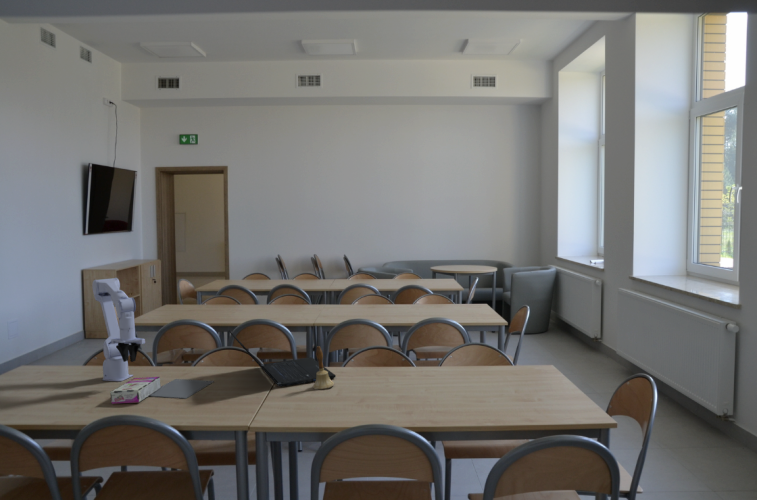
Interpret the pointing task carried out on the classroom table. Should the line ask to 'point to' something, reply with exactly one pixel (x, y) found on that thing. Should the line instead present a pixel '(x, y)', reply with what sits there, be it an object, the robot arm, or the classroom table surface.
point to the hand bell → (322, 373)
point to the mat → (180, 388)
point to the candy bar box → (135, 390)
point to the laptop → (291, 370)
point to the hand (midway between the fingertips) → (129, 361)
